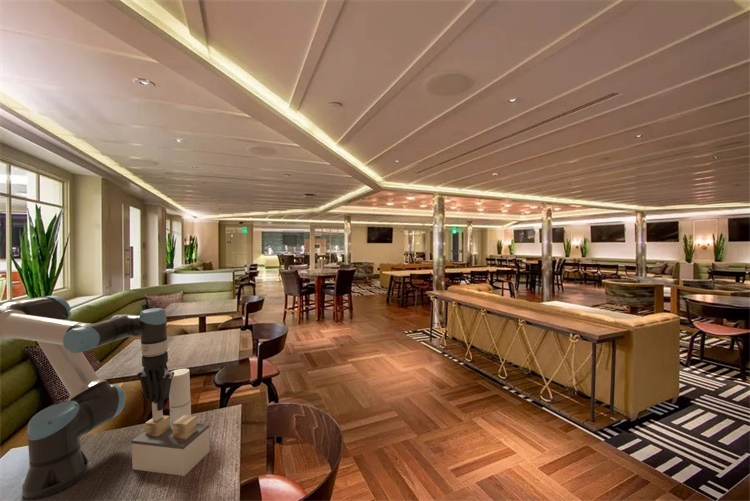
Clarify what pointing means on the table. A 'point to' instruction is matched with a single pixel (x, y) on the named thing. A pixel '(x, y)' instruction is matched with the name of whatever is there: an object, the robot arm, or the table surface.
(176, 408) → the cylindrical container
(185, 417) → the peg
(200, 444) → the plinth
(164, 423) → the peg
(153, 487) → the table surface
